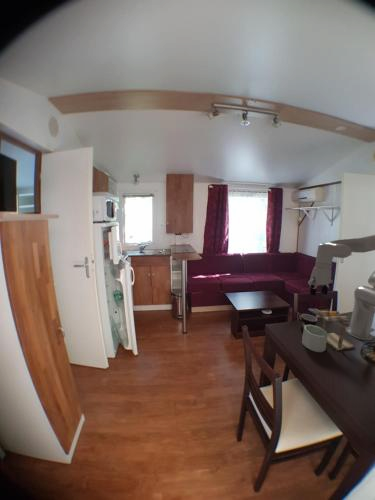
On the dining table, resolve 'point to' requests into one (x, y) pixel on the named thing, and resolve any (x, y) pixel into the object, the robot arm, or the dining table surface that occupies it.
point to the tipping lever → (327, 317)
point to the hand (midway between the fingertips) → (318, 294)
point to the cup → (314, 338)
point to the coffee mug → (307, 320)
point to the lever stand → (338, 338)
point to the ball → (333, 313)
